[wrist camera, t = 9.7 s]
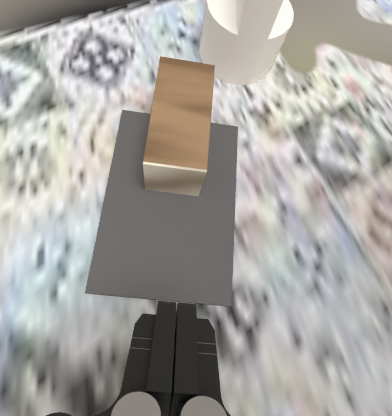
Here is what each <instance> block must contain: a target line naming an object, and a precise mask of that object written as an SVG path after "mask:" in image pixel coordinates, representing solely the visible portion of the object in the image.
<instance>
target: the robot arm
mask: <svg viewBox="0 0 392 416" xmlns="http://www.w3.org/2000/svg"><path fill="white" fill-rule="evenodd" d="M46 416H71V415H69V414H67V413H61V412H59V413H52V414H49V415H46ZM95 416H230V414H229V413H228V412H227V410H226V409H225V407H224V405H223V402H222V399H221V392H220V381H219V371H218V361H217V350H216V340H215V330H214V329H213V327H212V325H211V323H210V322H209V320H208V319H199V318H197V314H196V304H188V303H177V310H176V302H165V301H158V305H157V313H156V315H152V314H142V315H141V317H140V318H139V319H138V321H137V322H136V323H135V326H134V331H133V336H132V340H131V345H130V350H129V355H128V359H127V364H126V369H125V374H124V378H123V383H122V388H121V391H120V394H119V396H118V398H117V400H116V401H115V402H114V404H113V405H112V406H111V407H110V408H109V409H107V410H106V411H104V412H102V413H100V414H98V415H95Z"/></svg>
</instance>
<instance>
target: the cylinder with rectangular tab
mask: <svg viewBox="0 0 392 416" xmlns="http://www.w3.org/2000/svg"><path fill="white" fill-rule="evenodd" d="M293 14H294V12H293V9H292V6H291V3H290V2H289V0H207V3H206V10H205V16H204V22H203V28H202V35H201V41H200V47H199V54H200V59H201V61H202V63H204V64H210V65H215V70H214V76H215V77H216V78H218V79H220V80H222V81H224V82H227V83H231V84H235V85H249V84H253V83H257V82H259V81H260V80H262V79H264V78H265V77H266V76H267V75H268V74H269V72H270V70H271V68H272V65H273V63H274V61H275V59H276V57H277V55H278V52H279V50H280V48H281V46H282V44H283V41H284V39H285V37H286V35H287V33H288V31H289V28H290V26H291V24H292V22H293Z"/></svg>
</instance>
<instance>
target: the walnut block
mask: <svg viewBox="0 0 392 416" xmlns="http://www.w3.org/2000/svg"><path fill="white" fill-rule="evenodd" d="M214 70H215V65H210V64H204V63H197V62H191V61H185V60H179V59H173V58H167V57H161V56H160V61H159V67H158V74H157V80H156V86H155V92H154V98H153V104H152V111H151V117H150V123H149V129H148V135H147V141H146V148H145V154H144V160H143V171H144V183H145V190H151V191H159V192H167V193H175V194H183V195H191V196H199V193H200V190H201V188H202V185H203V182H204V179H205V176H206V173H207V163H208V150H209V137H210V123H211V110H212V97H213V84H214Z"/></svg>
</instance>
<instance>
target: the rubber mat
mask: <svg viewBox="0 0 392 416" xmlns="http://www.w3.org/2000/svg"><path fill="white" fill-rule="evenodd" d="M150 117H151V114H147V113H140V112H133V111H127V110H122V115H121V120H120V125H119V130H118V135H117V139H116V144H115V149H114V154H113V159H112V164H111V169H110V174H109V179H108V184H107V188H106V193H105V198H104V203H103V208H102V213H101V218H100V223H99V228H98V232H97V237H96V242H95V247H94V252H93V257H92V262H91V267H90V272H89V277H88V281H87V286H86V291H85V293H88V294H99V295H110V296H121V297H132V298H143V299H154V300H165V301H176V302H187V303H198V304H209V305H220V306H231V301H232V274H233V246H234V219H235V191H236V164H237V136H238V127H236V126H230V125H223V124H216V123H210V137H209V150H208V163H207V173H206V176H205V179H204V182H203V185H202V188H201V190H200V193H199V196H191V195H183V194H175V193H167V192H159V191H151V190H145V183H144V171H143V160H144V154H145V148H146V141H147V135H148V129H149V123H150Z"/></svg>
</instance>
